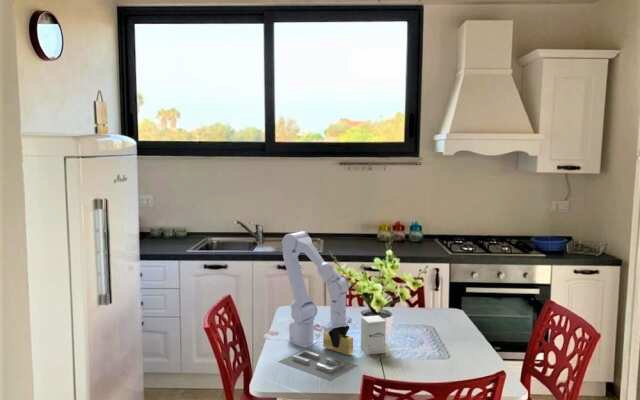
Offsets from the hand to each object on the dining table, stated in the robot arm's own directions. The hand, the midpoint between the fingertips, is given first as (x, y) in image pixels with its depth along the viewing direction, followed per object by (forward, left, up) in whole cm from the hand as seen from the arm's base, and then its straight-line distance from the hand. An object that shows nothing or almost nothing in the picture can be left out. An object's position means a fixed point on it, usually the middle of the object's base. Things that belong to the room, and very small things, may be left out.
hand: (337, 345), depth 193 cm
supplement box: (+9, +10, -3) cm, 14 cm away
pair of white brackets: (+1, -13, -2) cm, 13 cm away
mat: (+1, -13, -3) cm, 13 cm away
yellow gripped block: (0, 0, -2) cm, 2 cm away
